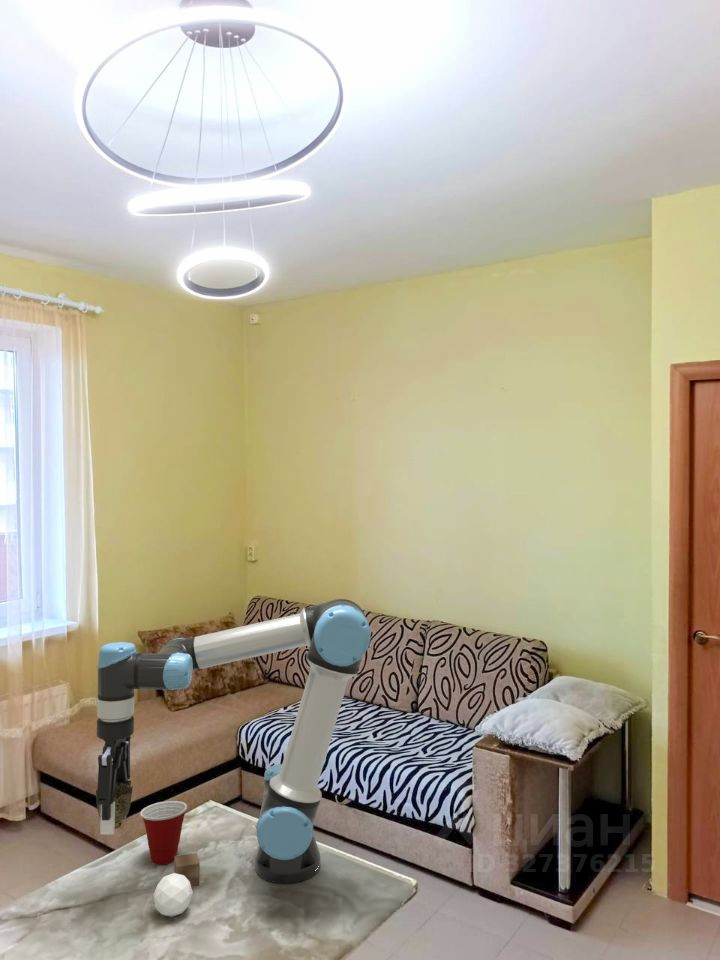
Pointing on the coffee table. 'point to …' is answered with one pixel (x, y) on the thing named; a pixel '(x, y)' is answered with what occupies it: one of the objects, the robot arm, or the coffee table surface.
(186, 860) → the walnut block
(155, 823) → the plastic cup
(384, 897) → the coffee table surface
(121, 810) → the ornate bell
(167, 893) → the geometric ball
